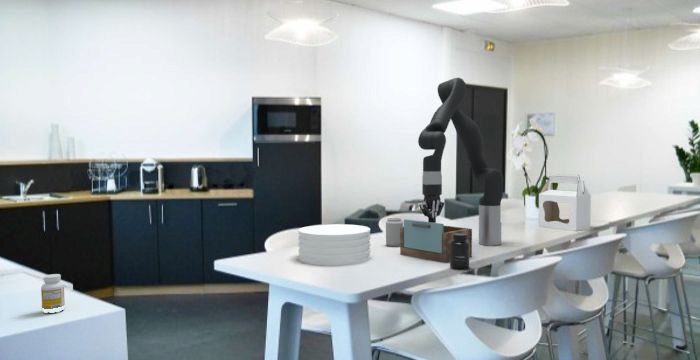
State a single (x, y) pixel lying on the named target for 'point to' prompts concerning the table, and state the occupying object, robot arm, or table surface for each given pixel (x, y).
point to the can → (393, 231)
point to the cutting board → (423, 235)
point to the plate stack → (334, 244)
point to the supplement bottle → (459, 252)
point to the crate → (447, 240)
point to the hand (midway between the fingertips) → (432, 227)
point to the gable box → (577, 199)
